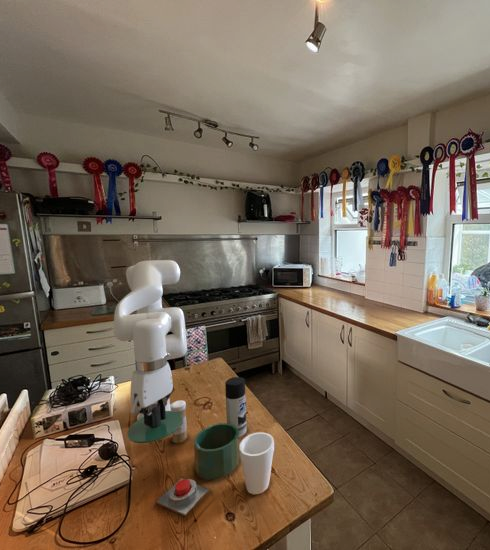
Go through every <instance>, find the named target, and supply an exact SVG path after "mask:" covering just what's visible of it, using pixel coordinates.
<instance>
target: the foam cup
mask: <svg viewBox="0 0 490 550" xmlns="http://www.w3.org/2000/svg"><path fill="white" fill-rule="evenodd" d="M274 451H275V440H274V437H273V436H272V435H271V433H267V432H264V431H262V432H261V431H260V432H252V433H250V434H248V435H247V436H245V437H243V439H242V440H241V441H240V442H239V459H240V461H241V467H242V472H243V477H244V483H245V489H246V491H247V493H249V494H251V495H259V494H262V493H264V492H265V491H266V490H267V489H268V488H269V485H270V481H271V473H272V467H273V464H272V463H273V457H274Z"/></svg>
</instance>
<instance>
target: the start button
mask: <svg viewBox="0 0 490 550" xmlns="http://www.w3.org/2000/svg"><path fill="white" fill-rule="evenodd" d="M182 479H183V480H181V481H179V480H178V481H179V482H178V481H177V482H178V483H177V482H176V483H177V484H176V483H175V484H176V485H175V484H174V485H175V494H176V495H177V496H183V495H185V494H187V493H188V492H189V490H190V481H189V480H188V479H189V478H182Z"/></svg>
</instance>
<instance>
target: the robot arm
mask: <svg viewBox="0 0 490 550" xmlns="http://www.w3.org/2000/svg"><path fill="white" fill-rule="evenodd" d="M125 277H126V282H127V284H128V286H129V289H130V292H129V293H128V294H126V295H124V297H123V298H121V299H120V301H119V302H118V303H117V305H116V307H115V309H114V314H113V334H114V337H115V338H116V340H118V341H120V342H129V341H133V354H134V365H135V370H133V371H132V374H131V380H130V405H131V408H130V414H133V415H137V416H136V421H137V420H139V419H141V418H143V417H144V424H145V425H147V426H149V427H154V426H155V420H154V414H153V413H152V404H156V403H158V404H160V410H161V420H164V419H166V415H165V414H166V411H171V404H172V403H171V400H170V397H171V395H172V394H173V393H174V392H175V390H176V389H175V388H174V385H173V375H172V370H171V366H170V364H169V362H168V360H174V359H179V358H183V357H185V356H186V355H187V353H188V341H187V329H186V320H185V314H184V311H183V310H182V309H181V308H180V307H176V306H174V307H163V301H162V300H163V298H162V296H163V293H164V291H163V290H164V289H163V286H164V285H165V286H166V285H175V284H177V283H178V282H179V280H180V277H181V269H180V266H179V264H178V263H177V262H176V261H175V260H171V259H153V260H152V259H151V260H142V261H139V262H137V263H135V264H134V265H131V266H129V267H127V268H126V270H125ZM134 312H136V313H134ZM132 313H134V314H132ZM170 332H171V333H172V334H170ZM168 333H169V334H168Z"/></svg>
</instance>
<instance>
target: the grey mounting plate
mask: <svg viewBox="0 0 490 550" xmlns="http://www.w3.org/2000/svg"><path fill="white" fill-rule="evenodd" d="M183 479H184V478H182V477H181V478H180V479H179V480H178V481H177V482H176V483H174V484H173V485H172V486H171V487H170V488H169V489H168V490H167V491H166V492H164V493H163V494H162V495H161V496H160V497H159V498H158V499H157V500H156V502H155V503H156V505H157V506H160V507H163V508H165V509H167V510H168V511H171V512H174V513H176V514H177V515H180V516H182V517H184V518H185V517H187V516H188V515H189V514H190V512H191V511H193V509H194V508H195V507H196V506H197V505H198V504H199V503H200V502H201V501H202V500H203V498H205V496H206V495H207V494H208V493H209V492H210V488H208V487H205V486H203V485H200V484H197V482H196V480H194V479H191V478H187V479H188V480H189V481H190V490H189V492H188V493H187V494H185V495H183V496H177V495H176V494H175V485H176V484H177V483H178V482H179V481H181V480H183Z"/></svg>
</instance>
